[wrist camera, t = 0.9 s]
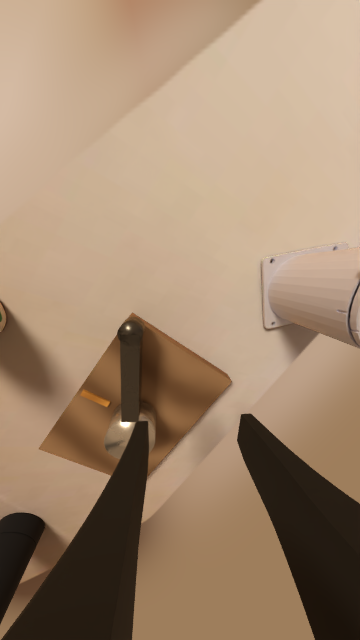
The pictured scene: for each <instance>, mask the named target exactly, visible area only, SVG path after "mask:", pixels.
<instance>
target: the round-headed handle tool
mask: <svg viewBox="0 0 360 640" xmlns="http://www.w3.org/2000/svg"><path fill="white" fill-rule="evenodd" d="M144 330H145V325H144V322H143V321H142V320H141V319H140V318H138V317H130V318H128V319H126V320H125V321H124V323H123V324H122V325H121V327H120V328H119V330H118V333H117V336H118V339H119V341H120V368H121V404H120V405H118V406H117V407H116V409H115V410H114V413H113V415H112V418H111V421H110V424H109V427H108V430H107V433H106V435H105V438H104V446H105V449H106V450H107V452H108V453H109V454H110V455H112V456H113V457H115V458H117V459H120V458H121V456H122V454H123V452H124V450H125V448H126V446H127V444H128V441H129V439H130V437H131V434H132V432H133V429H134V426H135V423H136V422H137V421H148V430H149V453H150V452H151V450H152V449H153V447H154V445H155V433H156V412H155V410H154V408H153V407H152V406H151V405H150V404H149V403H147V402H145V401H142V400H141V387H142V341H143V333H144Z"/></svg>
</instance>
